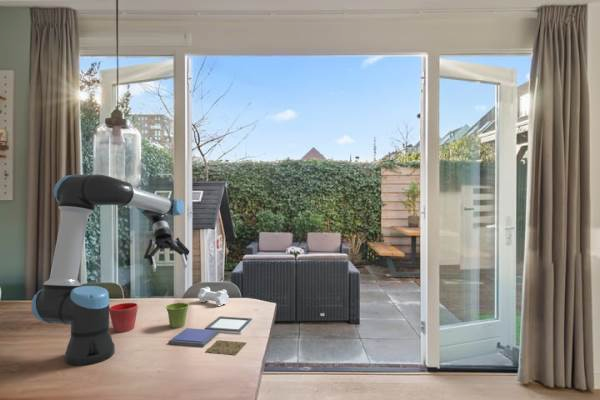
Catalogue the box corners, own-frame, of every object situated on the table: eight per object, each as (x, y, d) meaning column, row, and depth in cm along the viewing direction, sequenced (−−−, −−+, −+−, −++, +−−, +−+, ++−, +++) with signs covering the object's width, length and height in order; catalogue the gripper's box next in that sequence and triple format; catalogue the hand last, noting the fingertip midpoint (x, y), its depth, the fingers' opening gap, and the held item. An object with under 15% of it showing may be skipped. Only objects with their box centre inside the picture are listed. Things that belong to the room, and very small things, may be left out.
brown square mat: (247, 343, 143) (247, 341, 143) (235, 356, 131) (235, 354, 131) (218, 341, 145) (218, 338, 145) (203, 354, 133) (203, 351, 133)
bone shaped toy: (229, 305, 194) (230, 289, 195) (217, 307, 187) (218, 291, 188) (207, 301, 202) (208, 285, 203) (196, 303, 195) (197, 287, 195)
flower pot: (105, 329, 157) (105, 306, 156) (131, 323, 165) (131, 301, 164) (115, 336, 149) (115, 311, 149) (142, 328, 157) (142, 305, 157)
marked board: (240, 334, 151) (240, 330, 151) (203, 331, 154) (203, 328, 154) (253, 321, 167) (253, 318, 167) (219, 318, 170) (219, 316, 170)
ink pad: (203, 346, 138) (203, 342, 138) (168, 344, 141) (168, 340, 141) (218, 333, 152) (218, 329, 152) (186, 331, 155) (186, 327, 155)
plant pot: (193, 325, 161) (193, 305, 161) (172, 331, 154) (172, 310, 154) (181, 320, 168) (181, 301, 168) (161, 326, 161) (161, 305, 161)
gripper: (185, 235, 191) (195, 269, 179) (133, 239, 177) (140, 276, 165) (189, 226, 187) (199, 260, 175) (135, 228, 173) (142, 266, 161)
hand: (170, 268), depth 170 cm, fingers open, 13 cm apart
